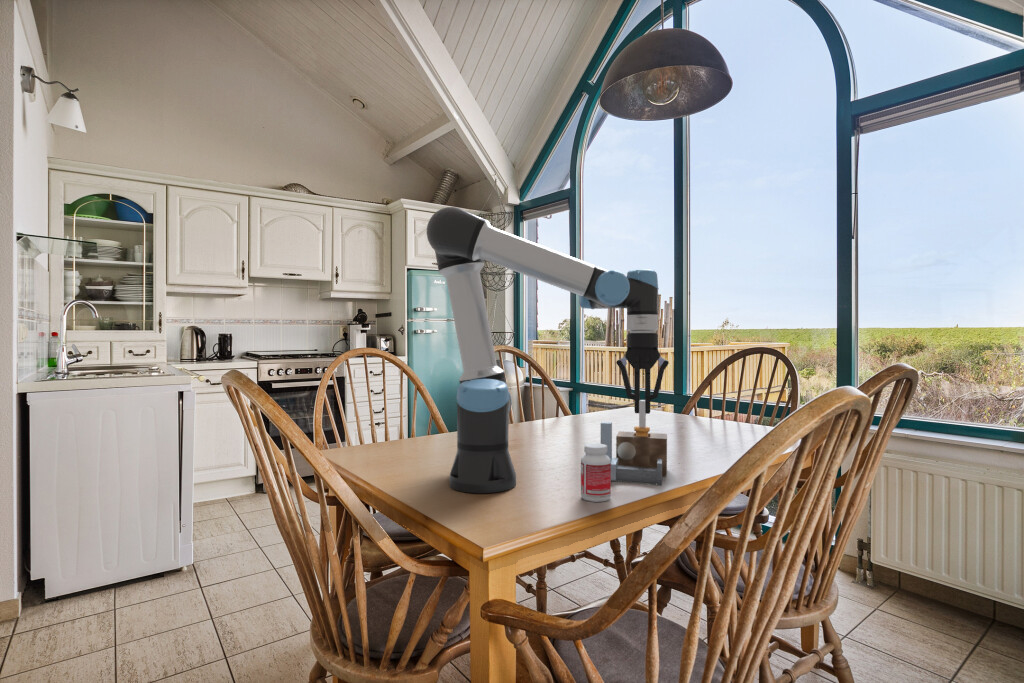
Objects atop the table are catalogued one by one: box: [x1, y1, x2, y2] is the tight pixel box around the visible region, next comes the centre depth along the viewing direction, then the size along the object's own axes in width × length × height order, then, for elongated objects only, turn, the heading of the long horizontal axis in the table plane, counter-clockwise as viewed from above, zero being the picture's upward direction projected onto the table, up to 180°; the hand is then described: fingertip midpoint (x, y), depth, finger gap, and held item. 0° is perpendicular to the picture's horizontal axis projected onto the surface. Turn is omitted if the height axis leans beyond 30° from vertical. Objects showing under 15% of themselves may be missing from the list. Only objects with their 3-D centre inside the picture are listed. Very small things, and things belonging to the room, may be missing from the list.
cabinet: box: [615, 430, 668, 477], centre depth 135 cm, size 12×7×9 cm, turn 73°
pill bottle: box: [580, 443, 612, 503], centre depth 112 cm, size 6×6×11 cm
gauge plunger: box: [633, 425, 651, 437], centre depth 135 cm, size 4×4×7 cm
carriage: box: [600, 421, 618, 480], centre depth 127 cm, size 5×7×13 cm
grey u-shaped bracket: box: [611, 459, 663, 487], centre depth 126 cm, size 17×5×5 cm, turn 73°
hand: (642, 426), depth 135 cm, fingers closed
